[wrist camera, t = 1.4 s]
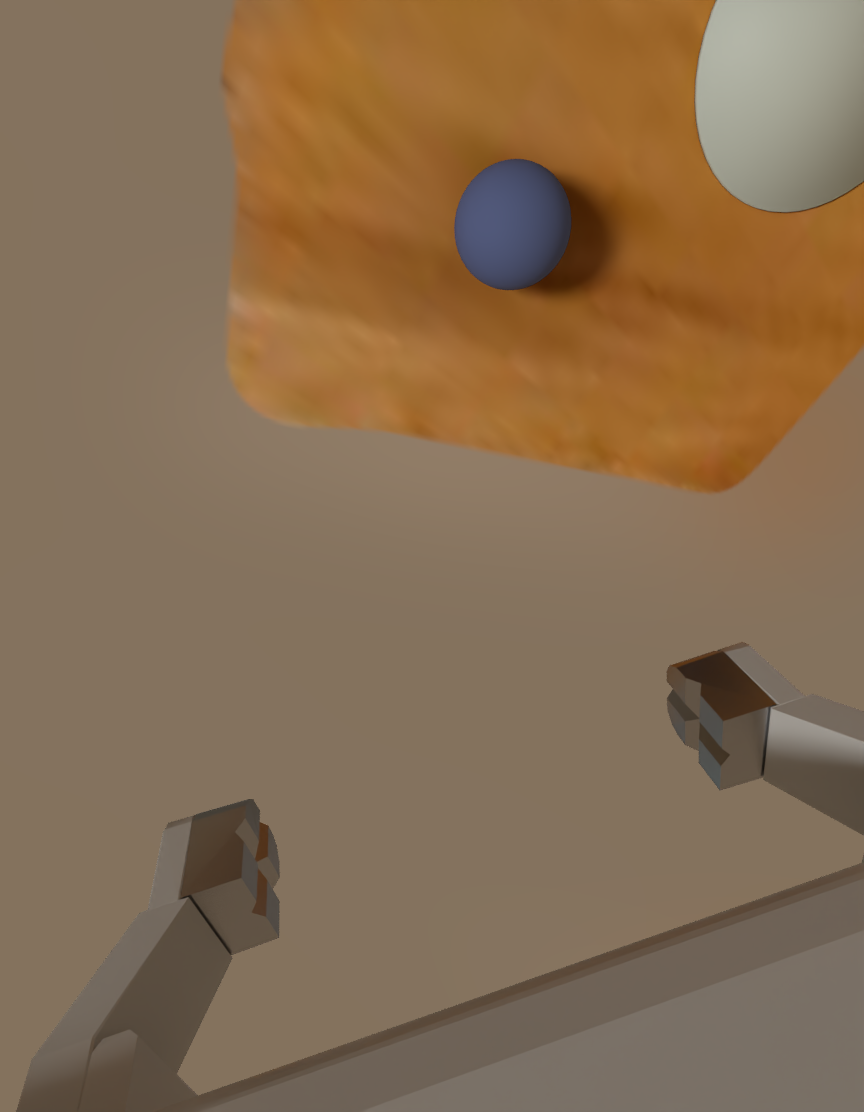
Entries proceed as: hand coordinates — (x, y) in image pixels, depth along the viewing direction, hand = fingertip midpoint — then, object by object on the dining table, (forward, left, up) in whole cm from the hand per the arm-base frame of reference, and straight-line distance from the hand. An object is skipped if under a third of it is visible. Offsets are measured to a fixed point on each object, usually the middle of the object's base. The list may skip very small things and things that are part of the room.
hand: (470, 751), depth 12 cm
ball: (-8, -3, -25) cm, 26 cm away
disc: (-25, -3, -28) cm, 38 cm away
